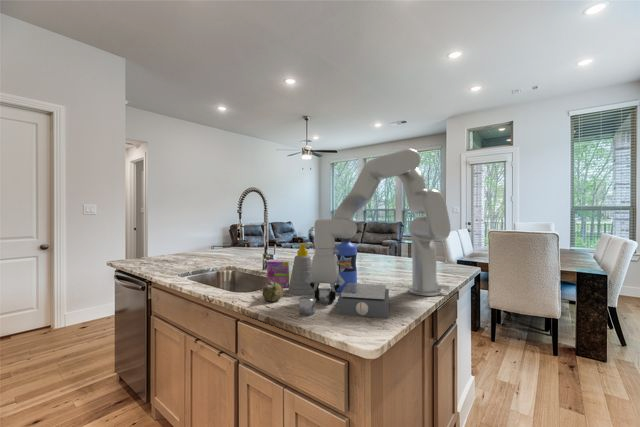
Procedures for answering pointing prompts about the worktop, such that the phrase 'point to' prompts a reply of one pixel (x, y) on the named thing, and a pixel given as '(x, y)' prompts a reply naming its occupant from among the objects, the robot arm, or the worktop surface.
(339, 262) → the blue bottle
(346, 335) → the worktop surface
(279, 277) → the box
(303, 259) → the soap bottle
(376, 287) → the pan
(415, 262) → the robot arm
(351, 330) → the worktop surface
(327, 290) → the cylinder
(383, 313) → the base
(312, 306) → the cylinder
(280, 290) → the onion
